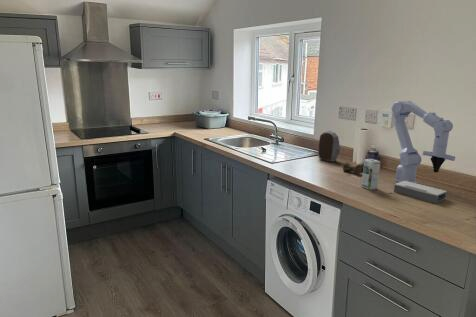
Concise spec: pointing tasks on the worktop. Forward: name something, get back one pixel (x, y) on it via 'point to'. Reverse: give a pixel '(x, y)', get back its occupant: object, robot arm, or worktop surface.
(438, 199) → the cable duct
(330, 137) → the grey rounded bag
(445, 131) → the robot arm
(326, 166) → the worktop surface
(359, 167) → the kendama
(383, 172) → the worktop surface
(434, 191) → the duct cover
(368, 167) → the syrup box
